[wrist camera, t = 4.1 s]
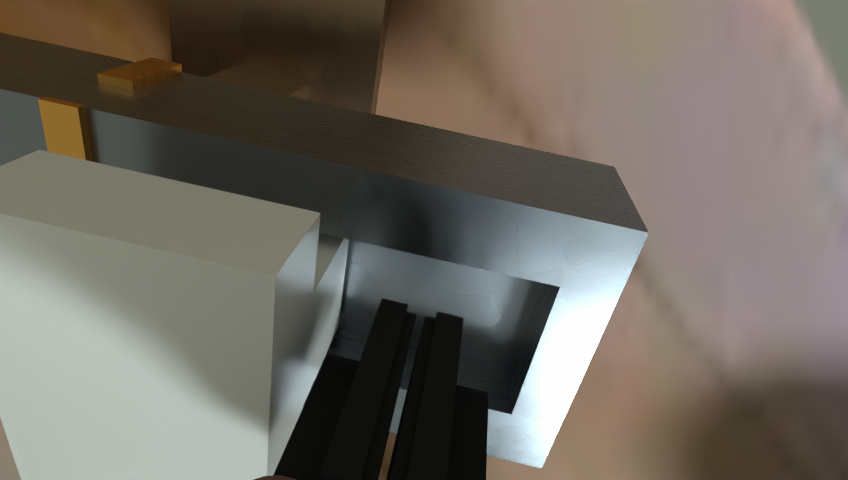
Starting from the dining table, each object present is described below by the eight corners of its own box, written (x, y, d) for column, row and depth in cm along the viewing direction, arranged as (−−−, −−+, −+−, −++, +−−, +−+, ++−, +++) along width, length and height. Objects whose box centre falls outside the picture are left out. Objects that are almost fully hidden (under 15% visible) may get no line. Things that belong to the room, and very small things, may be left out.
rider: (358, 158, 11) (275, 276, 7) (332, 374, 14) (264, 541, 10) (135, 109, 11) (-73, 196, 7) (157, 333, 14) (21, 483, 10)
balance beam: (598, 22, 19) (712, 105, 8) (510, 292, 24) (515, 532, 14) (-16, -107, 19) (-598, -175, 9) (44, 186, 25) (-267, 343, 15)
